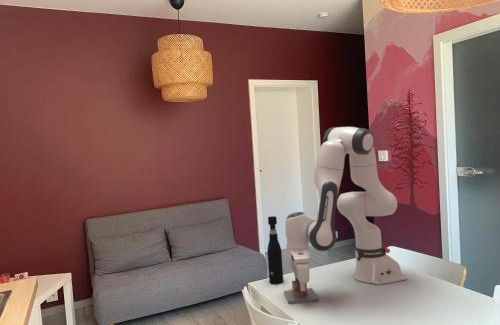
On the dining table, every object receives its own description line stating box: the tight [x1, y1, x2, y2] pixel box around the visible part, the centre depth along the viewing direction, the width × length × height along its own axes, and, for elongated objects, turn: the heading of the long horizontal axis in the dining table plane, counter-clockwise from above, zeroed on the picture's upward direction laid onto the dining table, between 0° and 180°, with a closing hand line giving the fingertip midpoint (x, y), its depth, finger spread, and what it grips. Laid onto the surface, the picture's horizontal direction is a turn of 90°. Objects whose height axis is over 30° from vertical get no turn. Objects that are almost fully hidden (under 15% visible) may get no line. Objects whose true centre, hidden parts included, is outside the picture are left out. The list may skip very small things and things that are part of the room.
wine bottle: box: [267, 215, 284, 285], centre depth 173 cm, size 6×6×30 cm
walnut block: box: [291, 280, 308, 297], centre depth 154 cm, size 5×5×5 cm
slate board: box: [283, 287, 320, 305], centre depth 154 cm, size 12×11×1 cm
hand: (300, 286), depth 154 cm, fingers open, 8 cm apart
